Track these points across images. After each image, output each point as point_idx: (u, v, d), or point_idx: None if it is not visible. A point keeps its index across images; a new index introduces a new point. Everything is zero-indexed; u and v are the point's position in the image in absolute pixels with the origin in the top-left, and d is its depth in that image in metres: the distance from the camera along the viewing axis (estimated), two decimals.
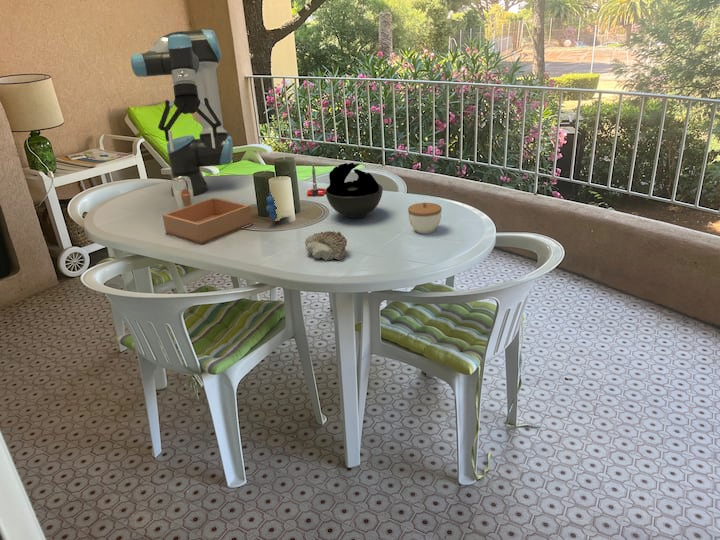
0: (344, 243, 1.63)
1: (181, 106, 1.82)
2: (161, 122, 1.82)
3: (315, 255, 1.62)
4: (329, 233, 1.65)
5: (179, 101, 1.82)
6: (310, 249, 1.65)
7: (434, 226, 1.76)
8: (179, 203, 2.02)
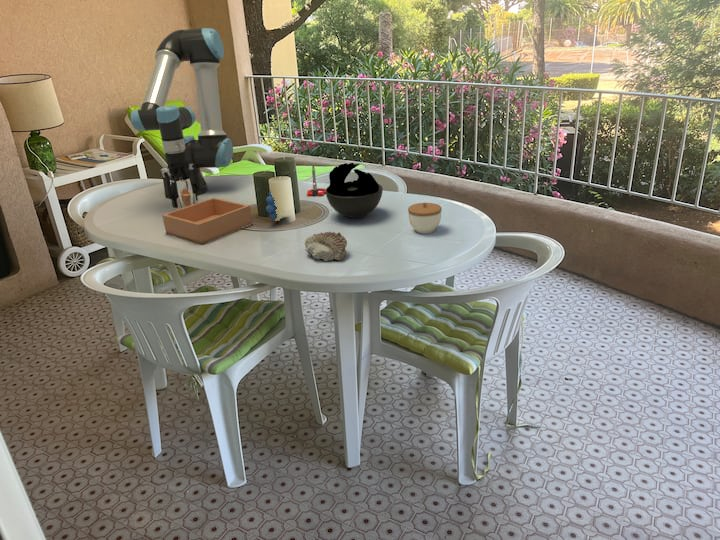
0: (344, 244, 1.63)
1: (178, 173, 1.98)
2: (169, 193, 1.97)
3: (315, 256, 1.62)
4: (329, 234, 1.64)
5: (174, 167, 1.96)
6: (310, 250, 1.64)
7: (434, 226, 1.76)
8: None
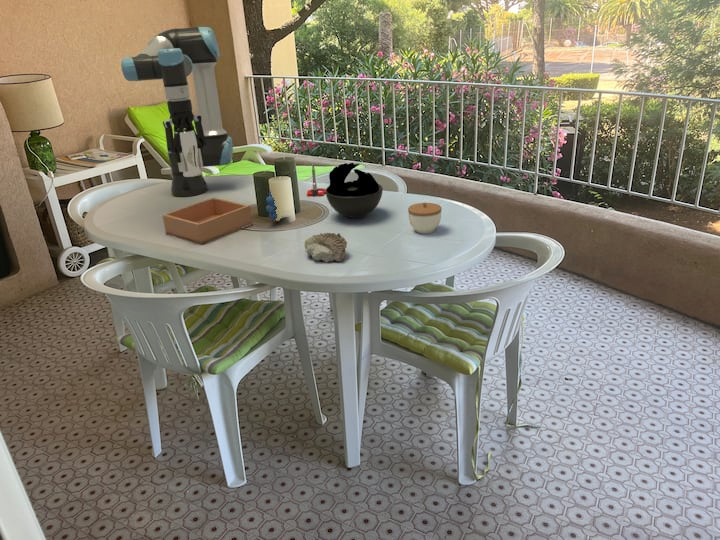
0: (344, 245, 1.62)
1: (182, 123, 1.81)
2: (172, 145, 1.80)
3: (315, 257, 1.61)
4: (329, 235, 1.64)
5: (177, 117, 1.79)
6: (310, 251, 1.63)
7: (434, 226, 1.76)
8: None
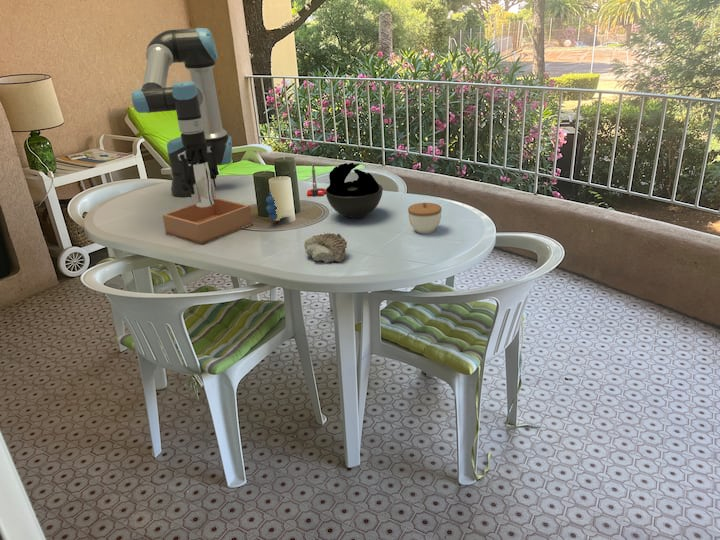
0: (344, 245, 1.62)
1: (196, 156, 1.81)
2: (186, 177, 1.80)
3: (315, 257, 1.61)
4: (329, 235, 1.63)
5: (190, 149, 1.80)
6: (310, 251, 1.63)
7: (434, 226, 1.76)
8: None
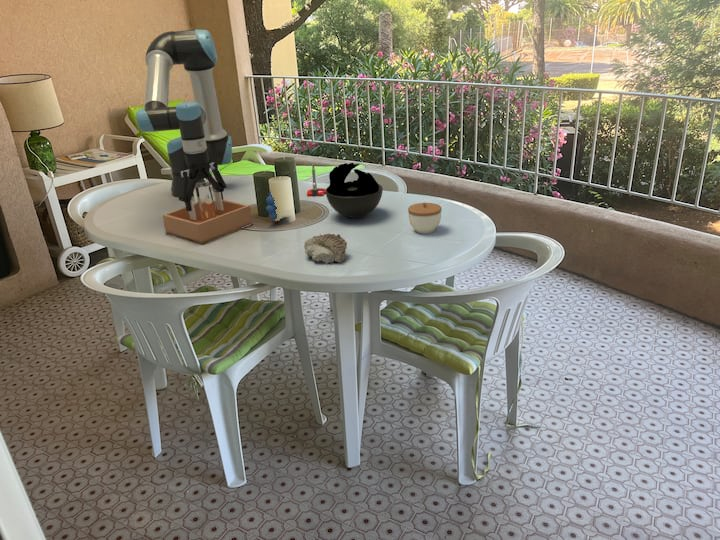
0: (344, 246, 1.61)
1: (198, 174, 1.83)
2: (184, 194, 1.81)
3: (315, 258, 1.60)
4: (329, 236, 1.63)
5: (194, 169, 1.82)
6: (310, 252, 1.62)
7: (434, 226, 1.76)
8: (201, 211, 1.89)
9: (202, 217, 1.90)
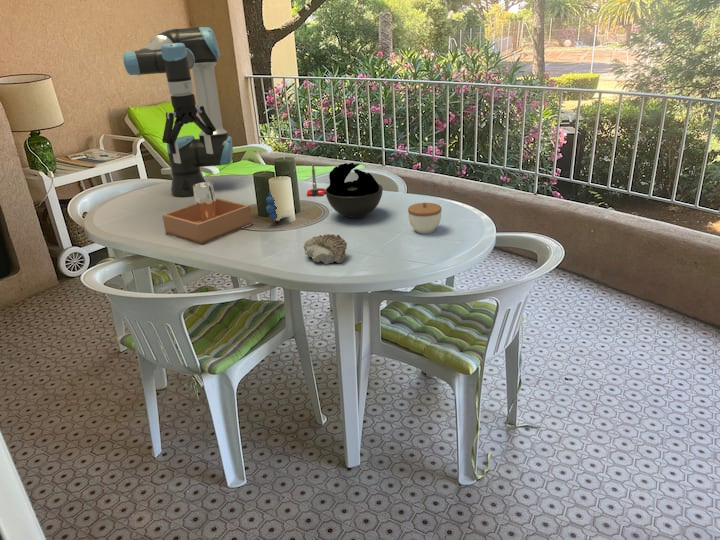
0: (344, 246, 1.61)
1: (185, 118, 1.82)
2: (168, 136, 1.79)
3: (315, 259, 1.60)
4: (328, 236, 1.63)
5: (181, 112, 1.81)
6: (309, 253, 1.62)
7: (434, 226, 1.76)
8: (201, 211, 1.89)
9: (202, 217, 1.90)
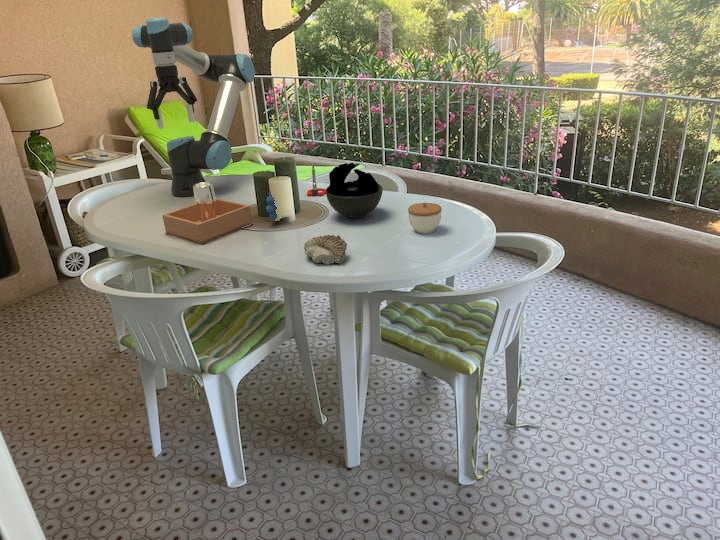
0: (344, 247, 1.61)
1: (168, 86, 1.99)
2: (152, 103, 1.96)
3: (315, 259, 1.59)
4: (328, 237, 1.62)
5: (164, 81, 1.98)
6: (309, 253, 1.62)
7: (434, 226, 1.76)
8: (201, 211, 1.89)
9: (202, 217, 1.90)
